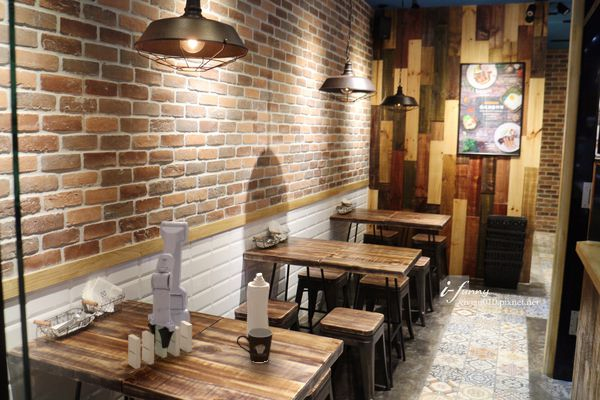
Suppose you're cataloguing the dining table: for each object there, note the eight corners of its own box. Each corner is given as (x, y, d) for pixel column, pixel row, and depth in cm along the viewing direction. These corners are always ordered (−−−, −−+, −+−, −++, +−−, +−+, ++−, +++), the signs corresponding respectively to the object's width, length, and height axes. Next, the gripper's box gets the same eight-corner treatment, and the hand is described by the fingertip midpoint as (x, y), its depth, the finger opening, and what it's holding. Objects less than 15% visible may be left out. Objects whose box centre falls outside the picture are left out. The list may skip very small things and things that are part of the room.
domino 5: (183, 347, 187) (184, 320, 186) (191, 351, 184) (192, 324, 183) (179, 348, 186) (180, 321, 185) (187, 352, 183) (188, 325, 182)
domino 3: (159, 351, 180) (159, 324, 179) (167, 356, 177) (167, 328, 175) (155, 353, 179) (155, 325, 178) (162, 357, 175) (163, 329, 174)
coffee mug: (275, 357, 182) (276, 330, 181) (266, 367, 174) (267, 338, 173) (245, 351, 186) (246, 324, 185) (234, 360, 178) (235, 333, 177)
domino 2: (146, 358, 177) (146, 330, 175) (153, 363, 173) (154, 334, 172) (141, 359, 175) (142, 331, 174) (149, 364, 172) (149, 336, 171)
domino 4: (171, 350, 184) (172, 323, 183) (179, 355, 180) (180, 327, 179) (167, 351, 183) (168, 324, 181) (175, 356, 179) (175, 328, 178)
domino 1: (132, 362, 173) (133, 334, 172) (140, 367, 170) (140, 338, 168) (128, 364, 172) (128, 335, 171) (135, 369, 168) (135, 339, 167)
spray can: (236, 337, 198) (238, 274, 195) (255, 330, 207) (257, 269, 204) (259, 345, 191) (261, 280, 188) (277, 337, 200) (279, 275, 197)
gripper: (140, 304, 178) (139, 341, 179) (162, 315, 168) (162, 355, 169) (158, 300, 183) (158, 336, 185) (181, 310, 173) (180, 349, 175)
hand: (161, 345), depth 177 cm, fingers closed on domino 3, 5 cm apart
